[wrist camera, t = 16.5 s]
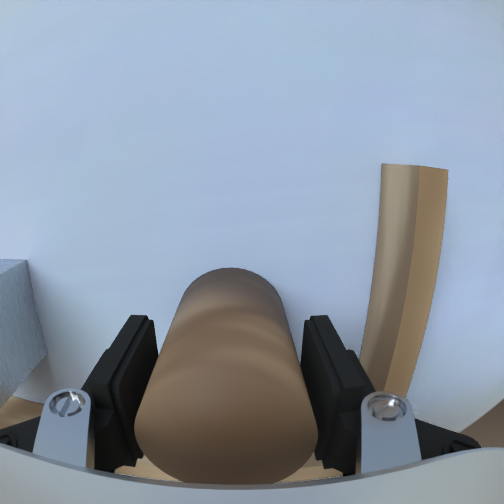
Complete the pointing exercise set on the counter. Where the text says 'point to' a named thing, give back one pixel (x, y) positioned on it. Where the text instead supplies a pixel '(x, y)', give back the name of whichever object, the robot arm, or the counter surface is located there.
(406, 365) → the corral
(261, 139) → the counter surface
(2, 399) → the block
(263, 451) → the cylinder
